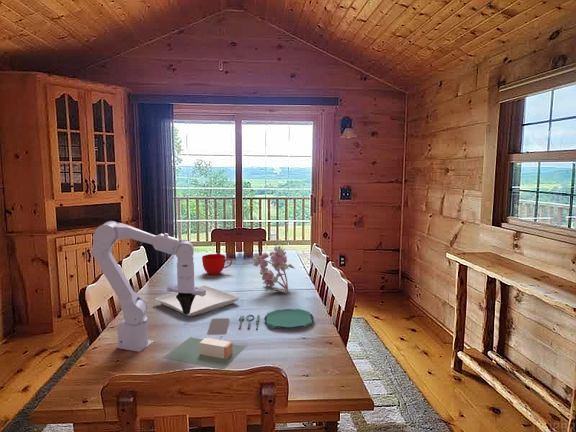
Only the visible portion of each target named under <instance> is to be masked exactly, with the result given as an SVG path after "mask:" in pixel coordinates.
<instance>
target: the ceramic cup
mask: <svg viewBox="0 0 576 432" xmlns="http://www.w3.org/2000/svg"><path fill="white" fill-rule="evenodd" d="M228 260H229V261H230V263H229V264H228V265H226V261H228ZM201 261H202V266H203V269H204V271H205V272H206V273H207V274H208V275H209V274H211V275H210V276H216V275H215V274H218V275H220V274H221V273H222V272H223V269H226V268H229V267H230V266H231V265H232V264H233V260H232V258H229V257H228V258H226V255H225V254H220V253H210V254H209V253H208V254H204V255H202V257H201ZM225 265H226V266H225ZM219 273H220V274H219Z"/></svg>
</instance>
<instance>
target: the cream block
mask: <svg viewBox="0 0 576 432" xmlns="http://www.w3.org/2000/svg"><path fill="white" fill-rule="evenodd" d="M232 344H233V341H230V340H229V341H228V340H222V339H217V338H211V337H209V338H208V337H205V338H204V339H203V340H202V341H201V342H200V343H199V346H200V354H201V355H207V356H212V357H218V358H223V359H228V358H229V357H230V356H231V355H232V354H233V345H232Z"/></svg>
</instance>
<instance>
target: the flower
mask: <svg viewBox="0 0 576 432" xmlns="http://www.w3.org/2000/svg"><path fill="white" fill-rule="evenodd" d="M273 250H274V251H270V252H269V254H268V253H267V252H262V254H261V255H259V253H257V252H256V253H254V254H253V256H252V258H249V260H250V261H252V266H254V267H258V266H259V267H260V270H259V274H260V275H261V279H262V281H263V282H262V284H263V285H266V287H268V286H269V287H274V286H275V284H276V283H278V285H279V286H281V287H282V288H283V289H282V288H274V289H271V290H270V291H269V293H271V292H279V291H280V293H288V294H290V295H291V291H290V290H289V287H288V285H289V284H288V277H287V273H286V270H287V271H289V270H290V269H289V268H291V269H294V270H296V268H295V266H294V265H292V264H291V263H287V261H288V259H287V258H288V256H287V255H286V254H287V251H285V250H286V248H284V246H283V245H282V246H281V245H278V246H275V247H274V249H273ZM269 257H270V259H269V260H265V259H268V258H269ZM269 264H270V265H271V266H272V268H274V271H276V272H277V273H276V275H275V274H274V272H273V271H272V270H271V269H269V268H268V267H267V266H268V265H269ZM280 270H281V271H282V272H283V273H281V271H280ZM283 275H284V278H283ZM279 277H280V279H281V280H282V283H283V284H282V283H281V282H280V281H278V280H279ZM284 279H285V280H284Z"/></svg>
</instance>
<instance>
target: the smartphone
mask: <svg viewBox="0 0 576 432" xmlns="http://www.w3.org/2000/svg"><path fill="white" fill-rule="evenodd" d="M230 321H231V320H230V318H229V317H227V318H226V317H223V318H220V317H219V318H216V317H215V318H211V319H210V323H209V326H208V329H207V333H206V335H208V336H219V335H220V336H221V335H223V336H225V335H227V334H228V329H229V326H230Z"/></svg>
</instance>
